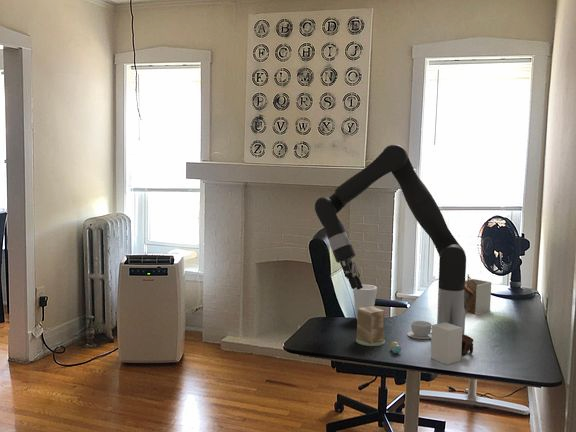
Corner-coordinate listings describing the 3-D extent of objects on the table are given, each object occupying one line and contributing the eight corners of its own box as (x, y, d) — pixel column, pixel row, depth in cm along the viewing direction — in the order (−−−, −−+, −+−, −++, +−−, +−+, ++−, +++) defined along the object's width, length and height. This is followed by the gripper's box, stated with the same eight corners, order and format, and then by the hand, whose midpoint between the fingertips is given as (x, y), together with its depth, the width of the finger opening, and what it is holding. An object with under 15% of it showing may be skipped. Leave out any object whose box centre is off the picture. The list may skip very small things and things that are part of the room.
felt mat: (372, 335, 227) (372, 334, 227) (390, 343, 218) (390, 341, 218) (350, 340, 221) (350, 338, 221) (368, 347, 213) (368, 346, 213)
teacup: (402, 336, 227) (402, 323, 227) (415, 330, 235) (415, 318, 234) (427, 342, 221) (427, 329, 220) (439, 335, 228) (440, 323, 228)
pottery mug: (436, 352, 210) (444, 329, 212) (459, 363, 212) (467, 340, 214) (455, 354, 199) (463, 330, 201) (479, 366, 201) (487, 342, 203)
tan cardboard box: (370, 336, 224) (371, 306, 223) (383, 341, 218) (384, 310, 217) (356, 338, 221) (357, 308, 220) (369, 344, 215) (370, 312, 214)
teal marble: (396, 351, 209) (397, 342, 209) (402, 354, 207) (403, 345, 206) (389, 353, 208) (390, 344, 207) (396, 355, 205) (396, 346, 205)
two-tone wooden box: (457, 311, 265) (459, 272, 263) (471, 307, 272) (473, 269, 270) (475, 315, 258) (477, 276, 256) (490, 311, 265) (491, 272, 264)
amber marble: (395, 348, 213) (395, 339, 212) (401, 350, 210) (401, 342, 210) (388, 349, 211) (388, 341, 211) (394, 352, 208) (394, 343, 208)
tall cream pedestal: (444, 354, 207) (445, 322, 205) (461, 361, 201) (462, 327, 199) (430, 357, 203) (431, 325, 202) (447, 364, 197) (448, 330, 196)
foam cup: (375, 323, 243) (376, 290, 242) (351, 321, 245) (352, 289, 244) (376, 316, 253) (377, 285, 251) (353, 315, 254) (354, 284, 253)
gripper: (346, 241, 224) (363, 284, 220) (355, 245, 237) (371, 285, 233) (327, 249, 226) (343, 291, 222) (337, 252, 239) (352, 292, 235)
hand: (357, 288), depth 227 cm, fingers open, 8 cm apart
